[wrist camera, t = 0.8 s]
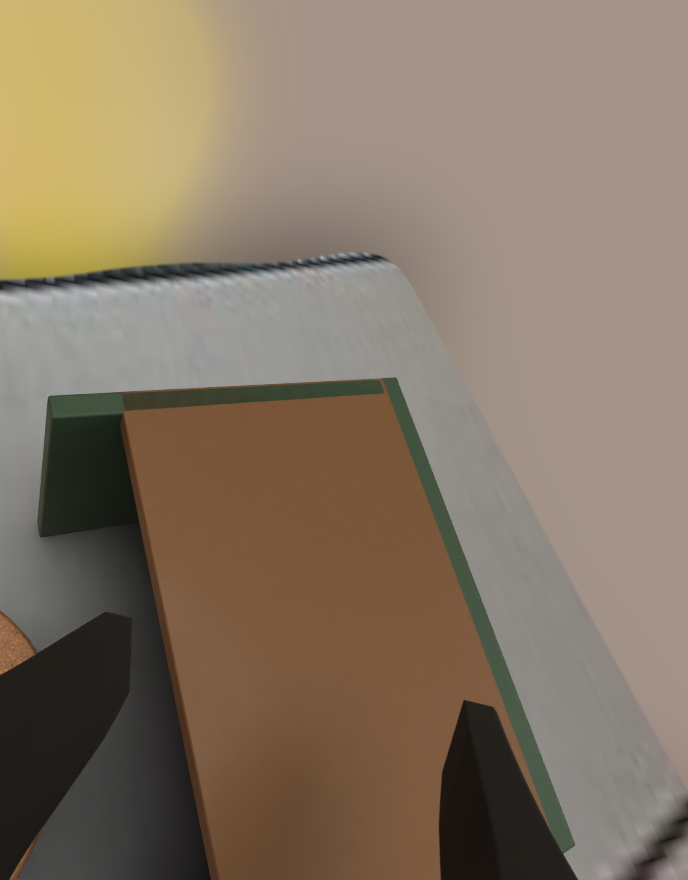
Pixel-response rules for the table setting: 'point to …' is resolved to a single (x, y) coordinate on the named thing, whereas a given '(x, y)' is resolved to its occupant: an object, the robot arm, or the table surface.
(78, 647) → the robot arm
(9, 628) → the trinket box
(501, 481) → the table surface
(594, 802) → the table surface
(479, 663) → the cabinet
